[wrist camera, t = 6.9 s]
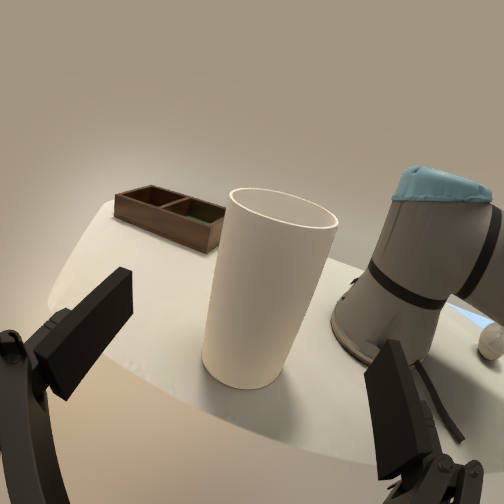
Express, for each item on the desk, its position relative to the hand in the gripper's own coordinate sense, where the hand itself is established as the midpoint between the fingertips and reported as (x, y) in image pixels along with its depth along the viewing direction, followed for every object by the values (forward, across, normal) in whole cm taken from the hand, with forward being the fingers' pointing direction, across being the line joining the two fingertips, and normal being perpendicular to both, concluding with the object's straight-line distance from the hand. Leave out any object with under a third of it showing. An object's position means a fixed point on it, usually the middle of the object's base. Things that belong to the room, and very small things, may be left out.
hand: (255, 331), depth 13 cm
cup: (+10, 0, -12) cm, 16 cm away
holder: (+37, -19, -12) cm, 43 cm away
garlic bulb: (+18, +42, -12) cm, 47 cm away
